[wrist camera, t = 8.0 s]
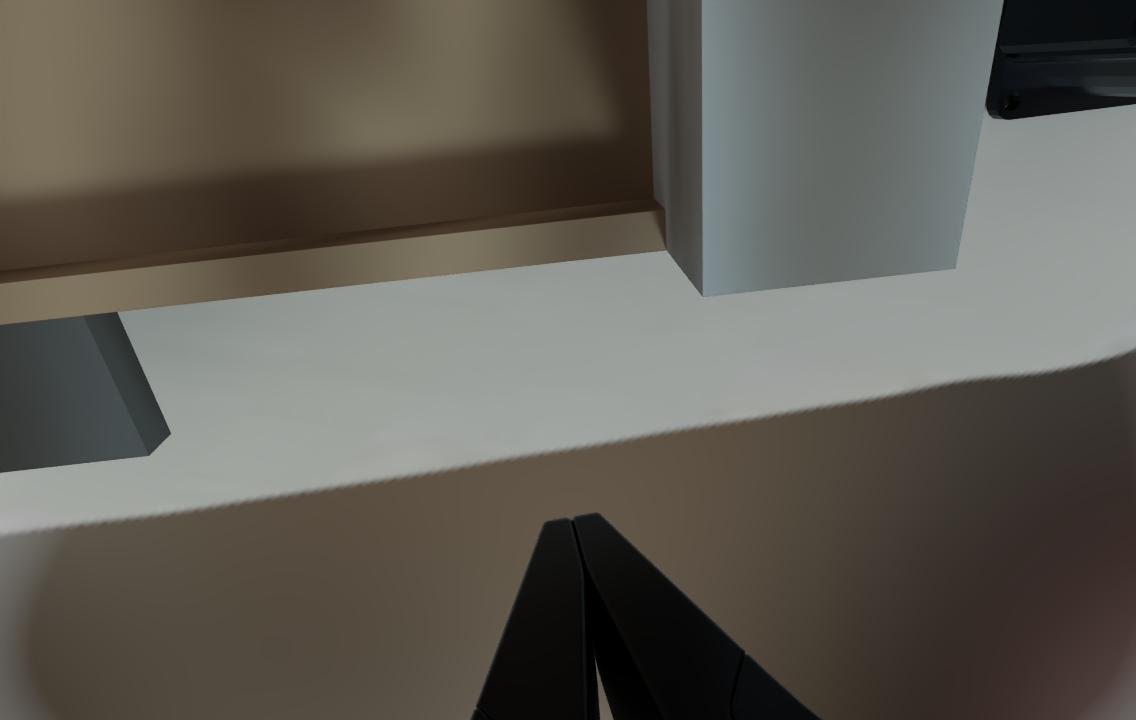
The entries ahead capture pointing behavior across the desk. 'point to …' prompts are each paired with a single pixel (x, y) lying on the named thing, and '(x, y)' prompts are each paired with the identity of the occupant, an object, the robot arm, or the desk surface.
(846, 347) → the desk surface
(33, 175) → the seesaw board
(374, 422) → the desk surface
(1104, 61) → the robot arm
